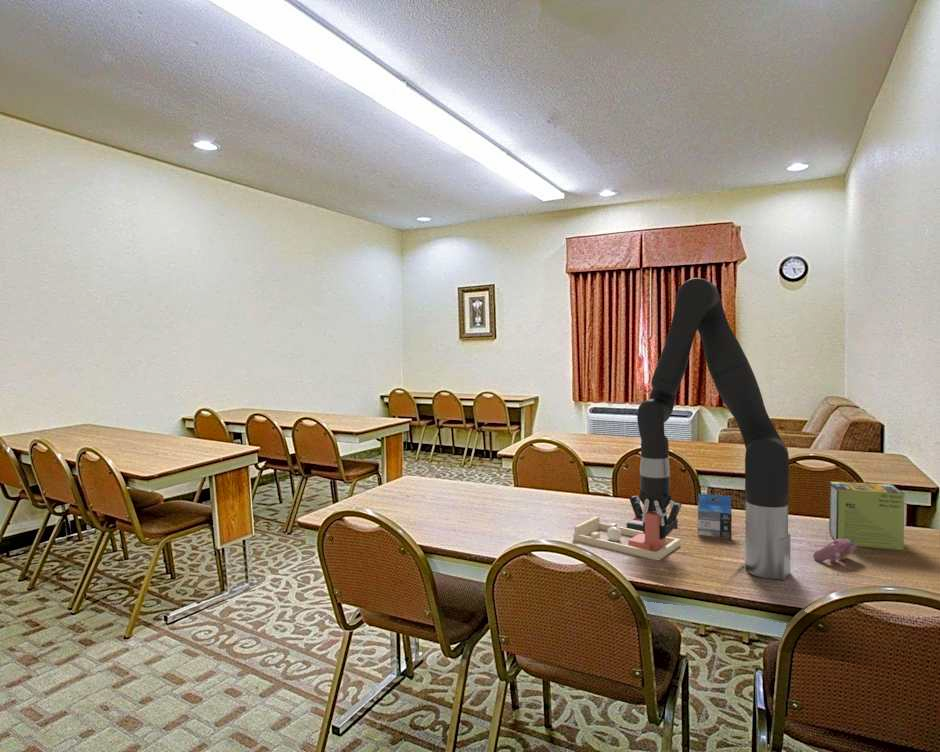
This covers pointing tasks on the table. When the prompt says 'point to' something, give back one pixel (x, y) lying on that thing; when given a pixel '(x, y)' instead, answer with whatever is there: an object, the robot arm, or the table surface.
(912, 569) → the table surface
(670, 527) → the calculator
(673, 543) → the pitch
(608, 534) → the ball
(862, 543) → the protein box
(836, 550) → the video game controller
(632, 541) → the block
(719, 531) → the label tape cartridge
